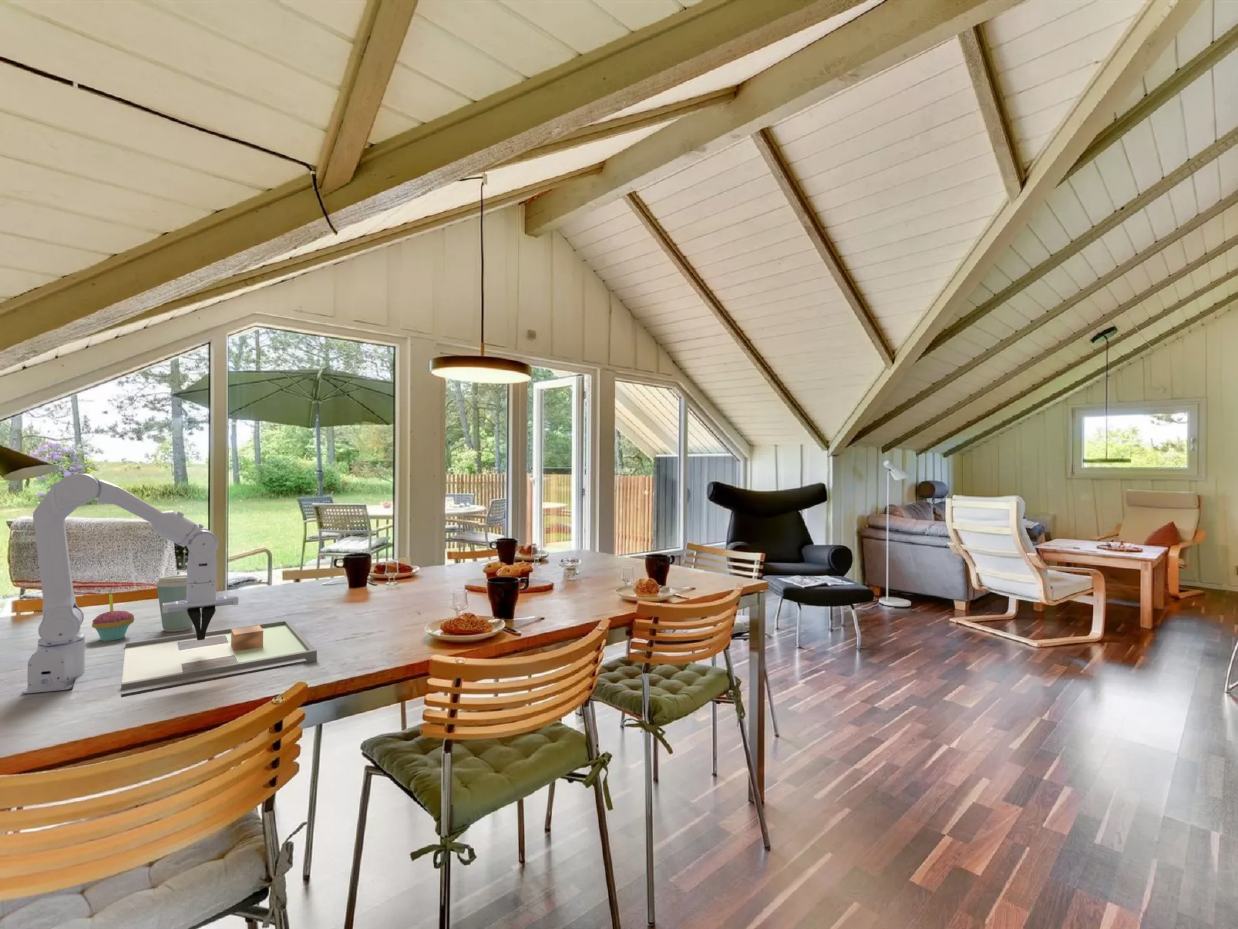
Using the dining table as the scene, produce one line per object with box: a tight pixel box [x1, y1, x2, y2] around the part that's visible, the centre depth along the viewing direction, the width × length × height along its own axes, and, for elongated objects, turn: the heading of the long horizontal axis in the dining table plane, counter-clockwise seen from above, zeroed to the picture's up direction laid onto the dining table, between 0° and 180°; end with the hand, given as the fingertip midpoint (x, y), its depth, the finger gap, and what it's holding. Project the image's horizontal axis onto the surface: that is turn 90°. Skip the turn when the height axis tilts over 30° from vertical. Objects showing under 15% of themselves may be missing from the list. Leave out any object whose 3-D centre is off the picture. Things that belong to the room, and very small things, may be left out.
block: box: [231, 625, 263, 651], centre depth 145 cm, size 6×6×4 cm
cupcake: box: [91, 591, 135, 642], centre depth 155 cm, size 9×8×12 cm
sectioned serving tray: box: [120, 619, 318, 698], centre depth 141 cm, size 35×34×2 cm
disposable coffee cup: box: [155, 574, 194, 633], centre depth 164 cm, size 11×11×15 cm
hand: (200, 639), depth 139 cm, fingers closed
